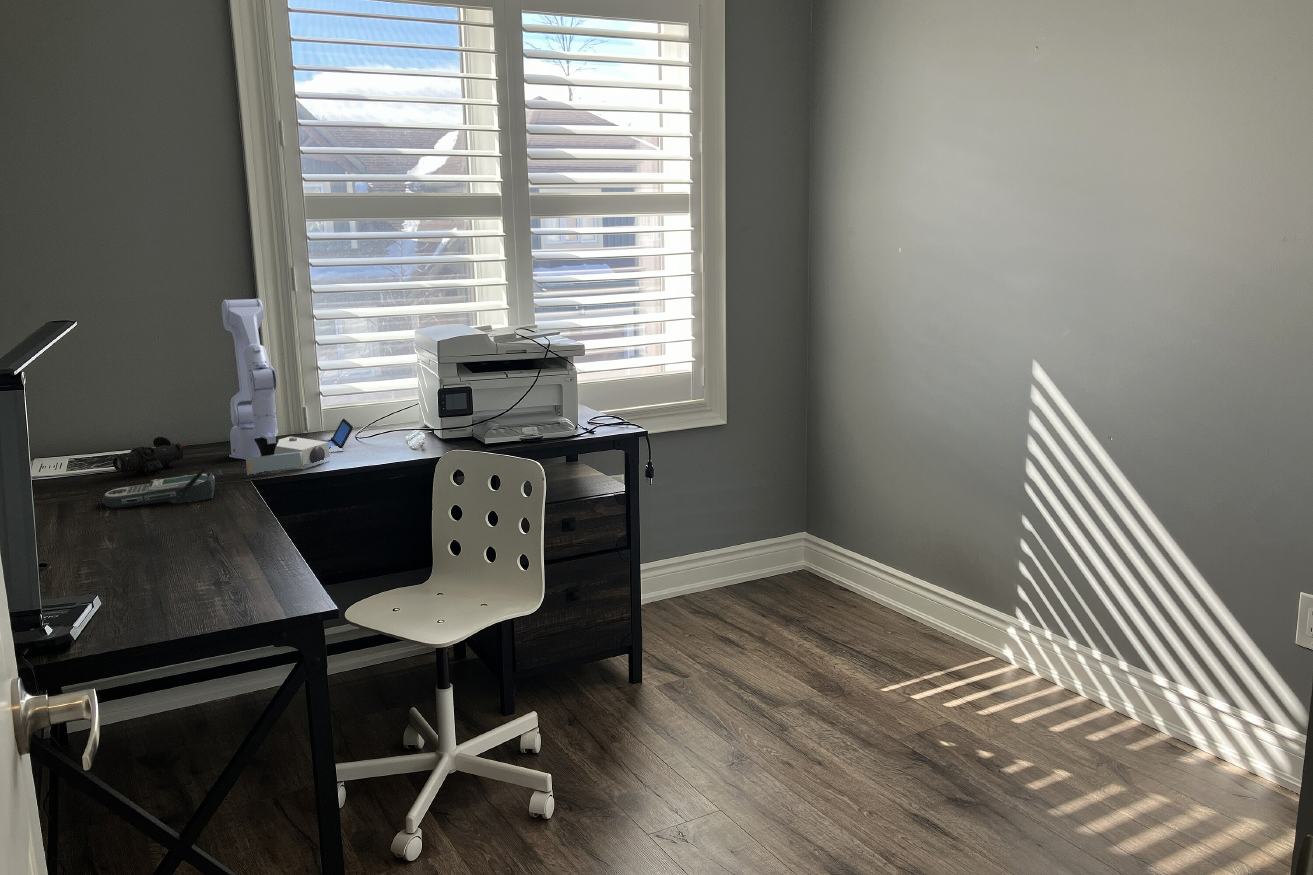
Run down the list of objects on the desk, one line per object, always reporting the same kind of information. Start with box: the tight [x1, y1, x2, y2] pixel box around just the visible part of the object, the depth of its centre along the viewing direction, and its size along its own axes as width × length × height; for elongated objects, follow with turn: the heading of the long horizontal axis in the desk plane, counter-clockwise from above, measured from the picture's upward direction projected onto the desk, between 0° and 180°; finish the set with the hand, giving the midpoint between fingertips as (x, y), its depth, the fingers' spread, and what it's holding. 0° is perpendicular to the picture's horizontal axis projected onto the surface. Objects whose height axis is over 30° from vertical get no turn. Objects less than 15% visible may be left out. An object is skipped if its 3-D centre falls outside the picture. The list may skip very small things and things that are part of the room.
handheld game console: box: [321, 418, 354, 449], centre depth 287 cm, size 12×11×7 cm
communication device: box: [102, 466, 216, 509], centre depth 235 cm, size 12×24×9 cm, turn 111°
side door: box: [245, 452, 303, 476], centre depth 259 cm, size 14×2×4 cm, turn 122°
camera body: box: [274, 435, 331, 465], centre depth 270 cm, size 15×10×6 cm
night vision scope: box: [112, 436, 187, 476], centre depth 259 cm, size 8×18×10 cm
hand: (268, 464), depth 260 cm, fingers closed
